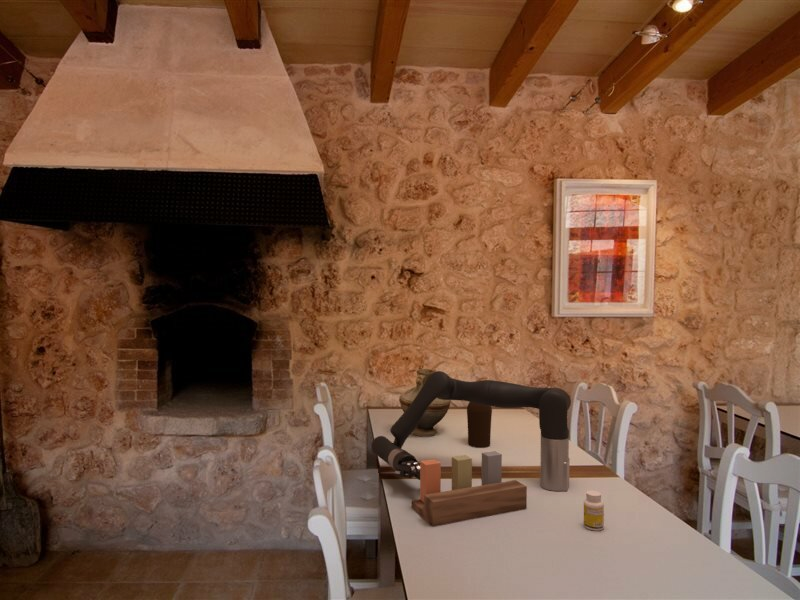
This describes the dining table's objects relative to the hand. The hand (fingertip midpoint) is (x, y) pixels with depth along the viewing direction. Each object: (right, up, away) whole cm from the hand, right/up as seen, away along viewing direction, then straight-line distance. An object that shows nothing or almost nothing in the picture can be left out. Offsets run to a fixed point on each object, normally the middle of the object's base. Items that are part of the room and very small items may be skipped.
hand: (423, 477), depth 174 cm
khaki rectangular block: (+12, -6, 0) cm, 13 cm away
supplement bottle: (+47, -9, -17) cm, 51 cm away
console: (+14, -8, -4) cm, 16 cm away
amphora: (+4, -6, +82) cm, 82 cm away
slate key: (+22, -6, +4) cm, 23 cm away
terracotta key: (+2, -6, -4) cm, 7 cm away
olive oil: (+27, -7, +64) cm, 70 cm away
